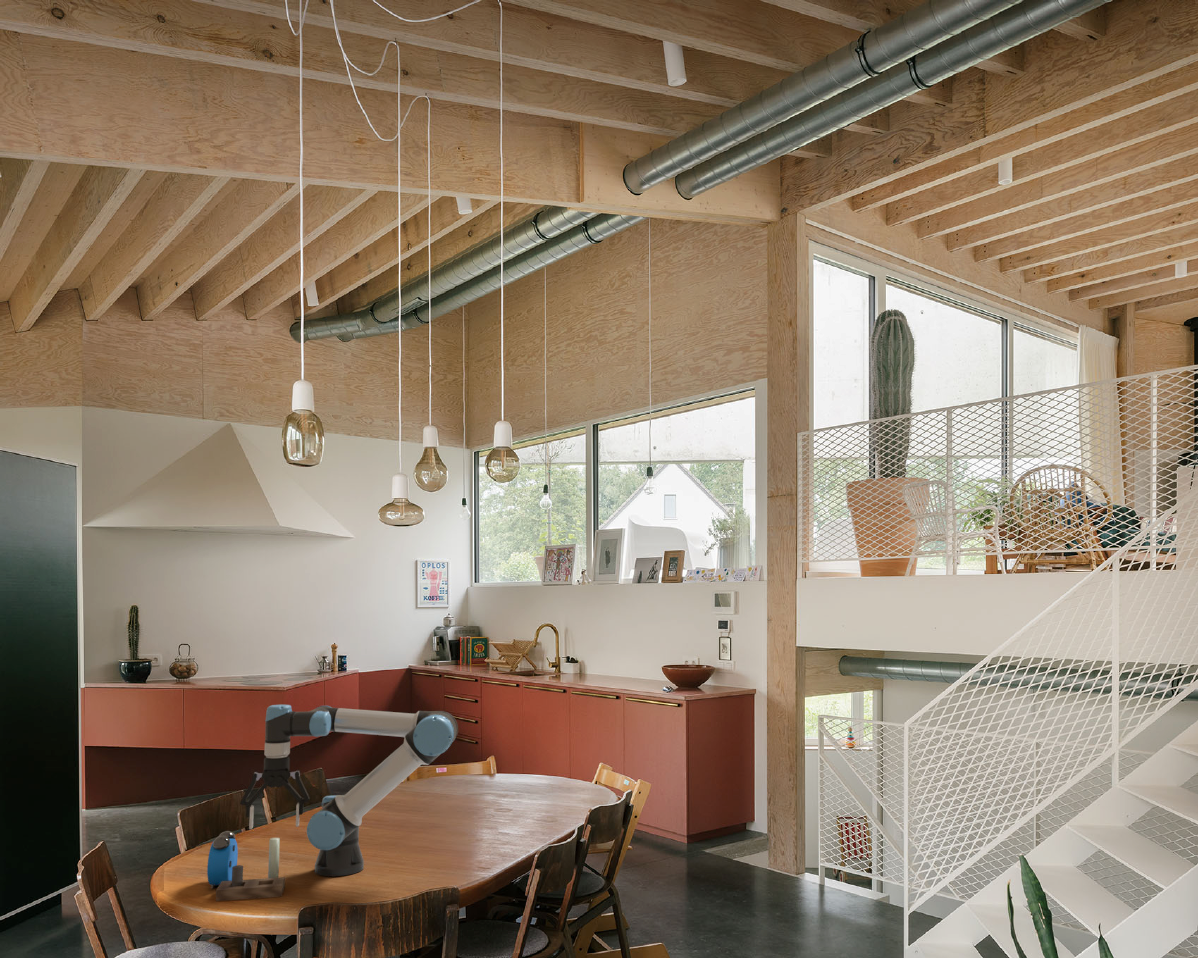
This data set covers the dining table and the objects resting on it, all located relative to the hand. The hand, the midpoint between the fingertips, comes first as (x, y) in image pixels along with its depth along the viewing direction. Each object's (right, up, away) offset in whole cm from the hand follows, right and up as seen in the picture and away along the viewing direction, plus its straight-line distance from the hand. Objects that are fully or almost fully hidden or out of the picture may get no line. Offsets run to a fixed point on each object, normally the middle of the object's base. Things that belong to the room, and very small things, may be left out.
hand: (274, 826), depth 293 cm
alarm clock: (-15, -17, -3) cm, 22 cm away
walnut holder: (-3, -15, -13) cm, 20 cm away
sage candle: (0, -16, -2) cm, 17 cm away
